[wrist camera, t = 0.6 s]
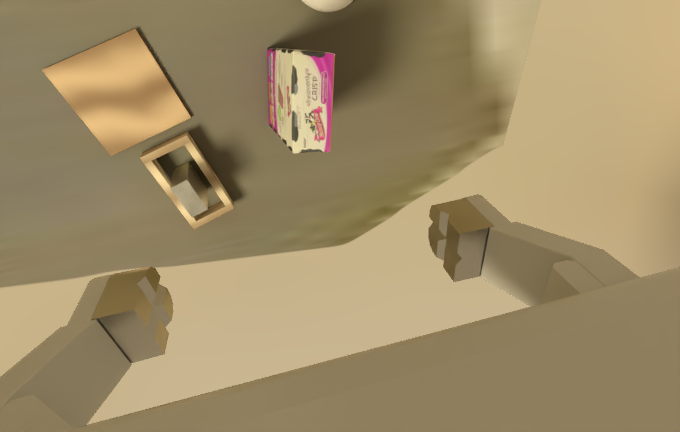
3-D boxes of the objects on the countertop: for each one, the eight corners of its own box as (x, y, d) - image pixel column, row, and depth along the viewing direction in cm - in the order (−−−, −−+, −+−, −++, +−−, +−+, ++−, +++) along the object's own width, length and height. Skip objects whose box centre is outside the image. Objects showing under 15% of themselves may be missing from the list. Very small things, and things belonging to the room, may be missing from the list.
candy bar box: (300, 125, 56) (332, 154, 42) (268, 125, 55) (291, 156, 41) (300, 48, 51) (337, 52, 38) (266, 46, 50) (291, 49, 36)
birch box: (142, 152, 50) (139, 157, 48) (187, 131, 51) (186, 135, 49) (194, 222, 57) (193, 229, 55) (233, 201, 58) (234, 208, 56)
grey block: (174, 168, 53) (170, 188, 46) (188, 161, 53) (186, 179, 46) (193, 195, 55) (191, 217, 49) (207, 188, 56) (207, 209, 49)
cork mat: (43, 69, 43) (41, 69, 42) (135, 28, 44) (135, 28, 44) (111, 154, 49) (111, 155, 49) (191, 117, 50) (190, 117, 50)
